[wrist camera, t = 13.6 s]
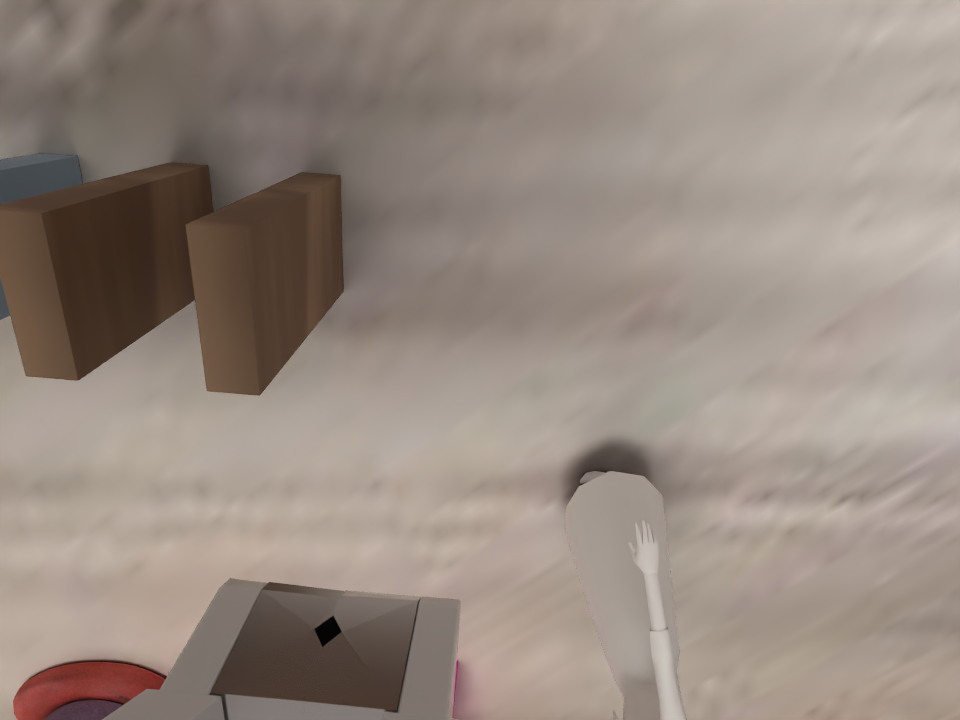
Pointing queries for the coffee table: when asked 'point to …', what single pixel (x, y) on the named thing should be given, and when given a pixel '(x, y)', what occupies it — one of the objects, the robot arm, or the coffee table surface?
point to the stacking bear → (82, 691)
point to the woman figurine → (629, 588)
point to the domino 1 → (34, 184)
